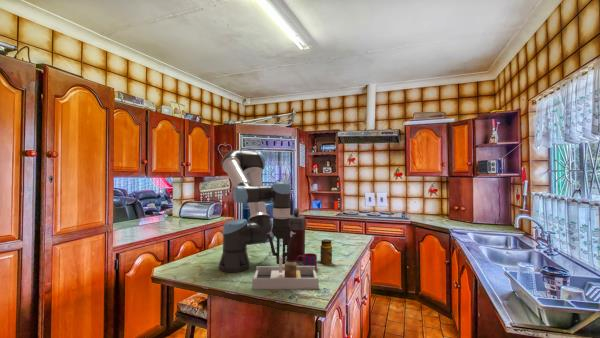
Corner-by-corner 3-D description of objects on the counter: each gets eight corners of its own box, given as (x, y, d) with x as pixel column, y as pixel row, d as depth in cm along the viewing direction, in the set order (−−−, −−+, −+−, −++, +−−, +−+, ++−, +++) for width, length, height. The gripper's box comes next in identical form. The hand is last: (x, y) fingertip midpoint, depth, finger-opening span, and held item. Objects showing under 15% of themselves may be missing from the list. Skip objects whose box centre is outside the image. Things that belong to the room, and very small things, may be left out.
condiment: (334, 264, 144) (334, 241, 144) (318, 265, 142) (319, 242, 142) (329, 260, 151) (330, 238, 151) (314, 261, 149) (315, 239, 149)
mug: (315, 271, 133) (315, 257, 133) (295, 269, 136) (295, 255, 136) (317, 267, 140) (318, 253, 140) (298, 265, 142) (299, 252, 142)
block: (284, 277, 118) (284, 265, 118) (284, 273, 123) (284, 262, 123) (296, 277, 119) (296, 265, 119) (295, 273, 124) (296, 262, 124)
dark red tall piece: (285, 255, 159) (285, 206, 159) (304, 256, 157) (305, 207, 158) (282, 260, 150) (282, 208, 150) (302, 261, 148) (303, 209, 149)
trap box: (252, 289, 112) (252, 279, 112) (256, 274, 128) (256, 266, 128) (318, 288, 113) (318, 278, 114) (314, 274, 129) (314, 265, 129)
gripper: (266, 218, 117) (265, 274, 117) (296, 218, 118) (295, 274, 118) (267, 216, 125) (266, 268, 124) (295, 216, 126) (295, 268, 125)
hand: (280, 271), depth 121 cm, fingers closed
